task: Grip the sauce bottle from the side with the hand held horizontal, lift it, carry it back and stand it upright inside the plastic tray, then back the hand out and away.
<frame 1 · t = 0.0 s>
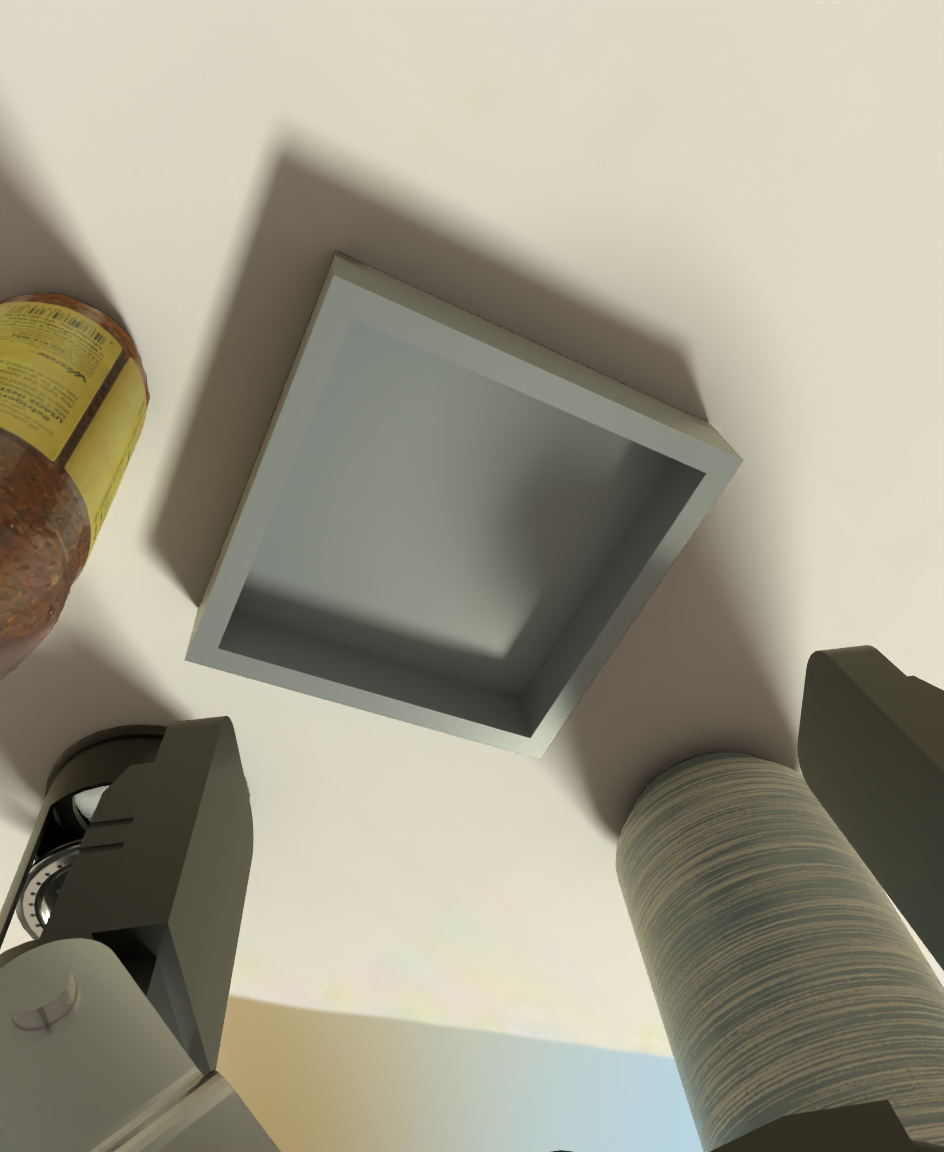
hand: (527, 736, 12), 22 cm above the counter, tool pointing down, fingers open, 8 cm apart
sauce bottle: (70, 376, 31), on the counter
vase: (704, 805, 47), on the counter
tray: (447, 518, 35), on the counter
french press: (147, 799, 42), on the counter
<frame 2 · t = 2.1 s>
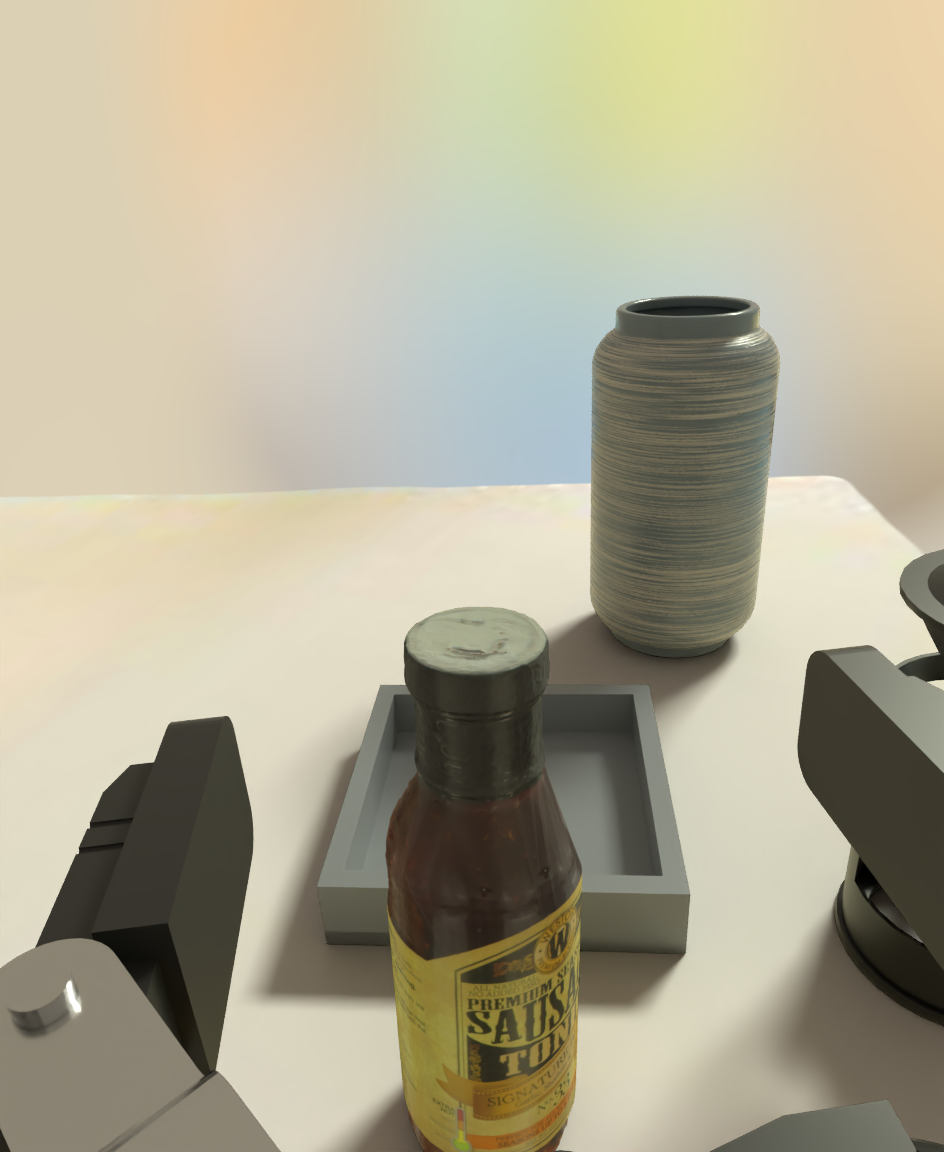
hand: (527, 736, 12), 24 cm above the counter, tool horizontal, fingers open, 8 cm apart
sauce bottle: (494, 1107, 32), on the counter
vase: (669, 630, 63), on the counter
tray: (509, 823, 45), on the counter
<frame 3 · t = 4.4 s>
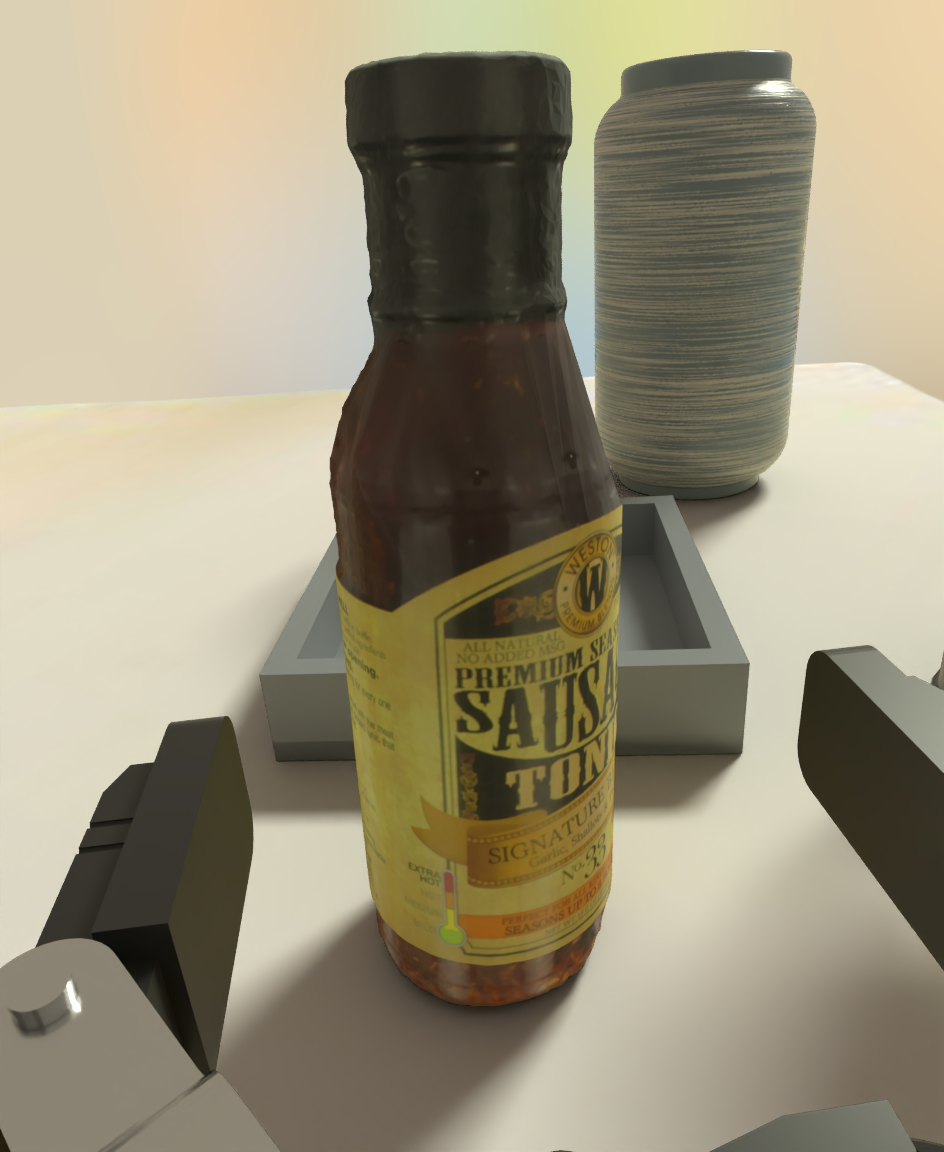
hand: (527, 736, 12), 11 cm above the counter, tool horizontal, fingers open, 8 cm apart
sauce bottle: (497, 922, 23), on the counter
vase: (686, 480, 55), on the counter
tray: (508, 642, 37), on the counter
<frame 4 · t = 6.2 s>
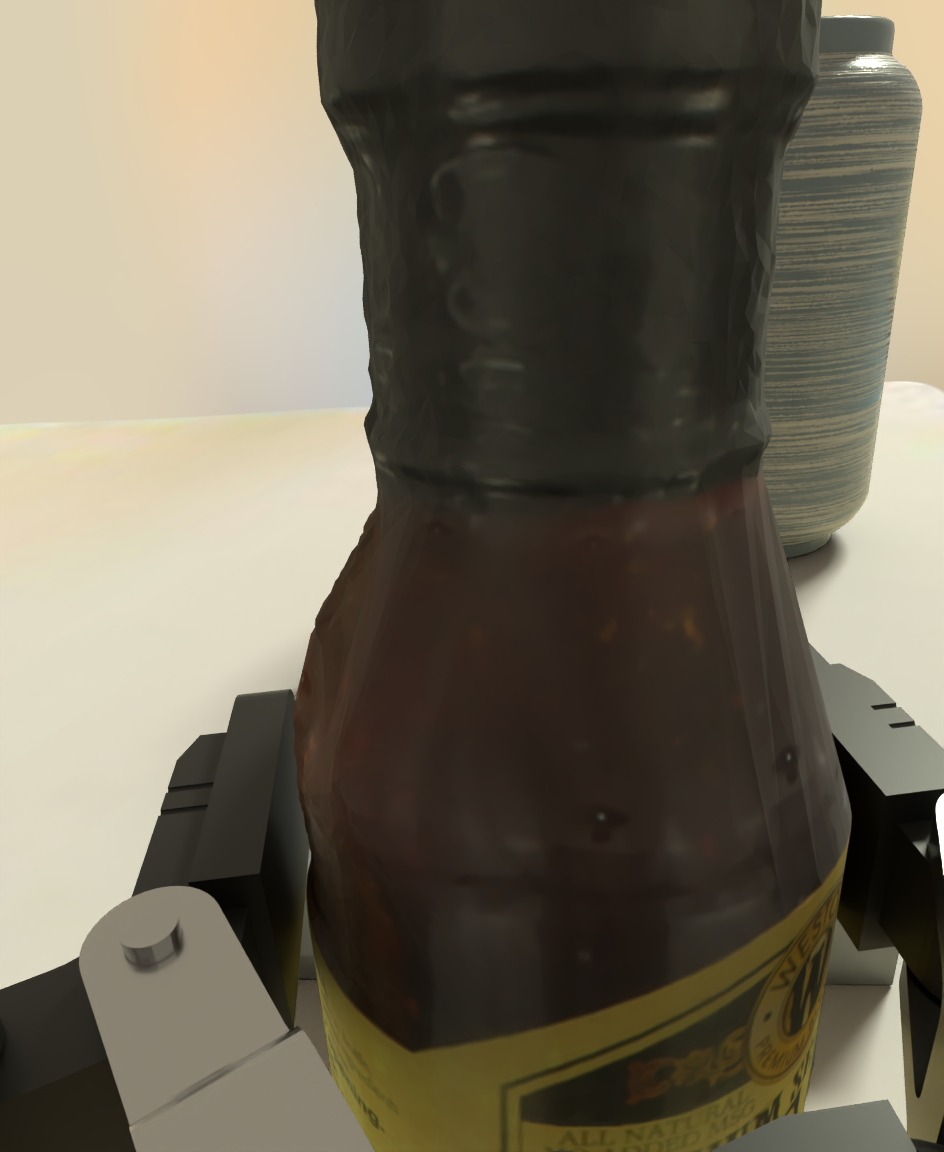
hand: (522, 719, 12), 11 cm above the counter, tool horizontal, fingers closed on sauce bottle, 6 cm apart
vase: (744, 532, 46), on the counter
tray: (549, 775, 28), on the counter
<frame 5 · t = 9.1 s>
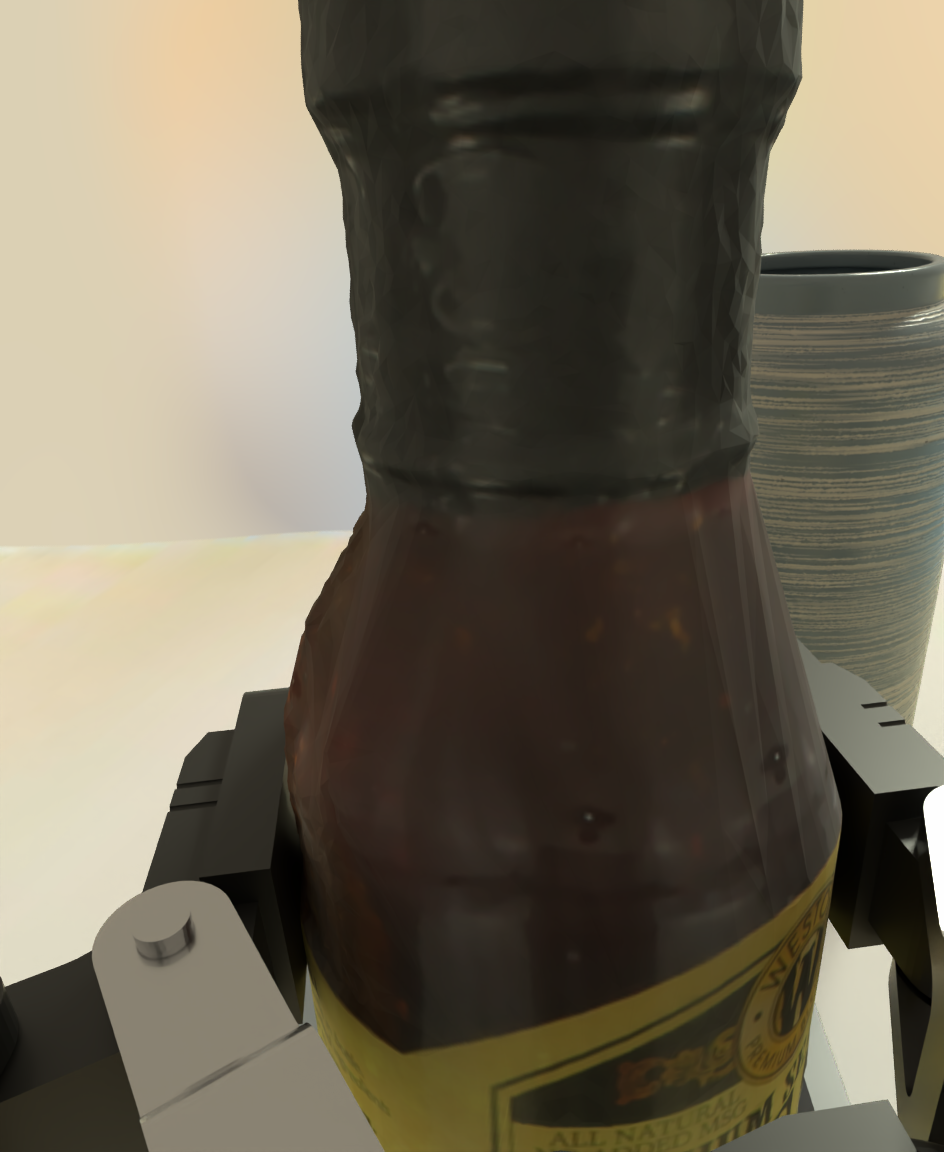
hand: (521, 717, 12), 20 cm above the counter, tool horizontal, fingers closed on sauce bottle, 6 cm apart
vase: (766, 765, 42), on the counter
when the fingers open (13 cm above the counter, at t = 11.8 s): sauce bottle drops 1 cm, resting on tray.
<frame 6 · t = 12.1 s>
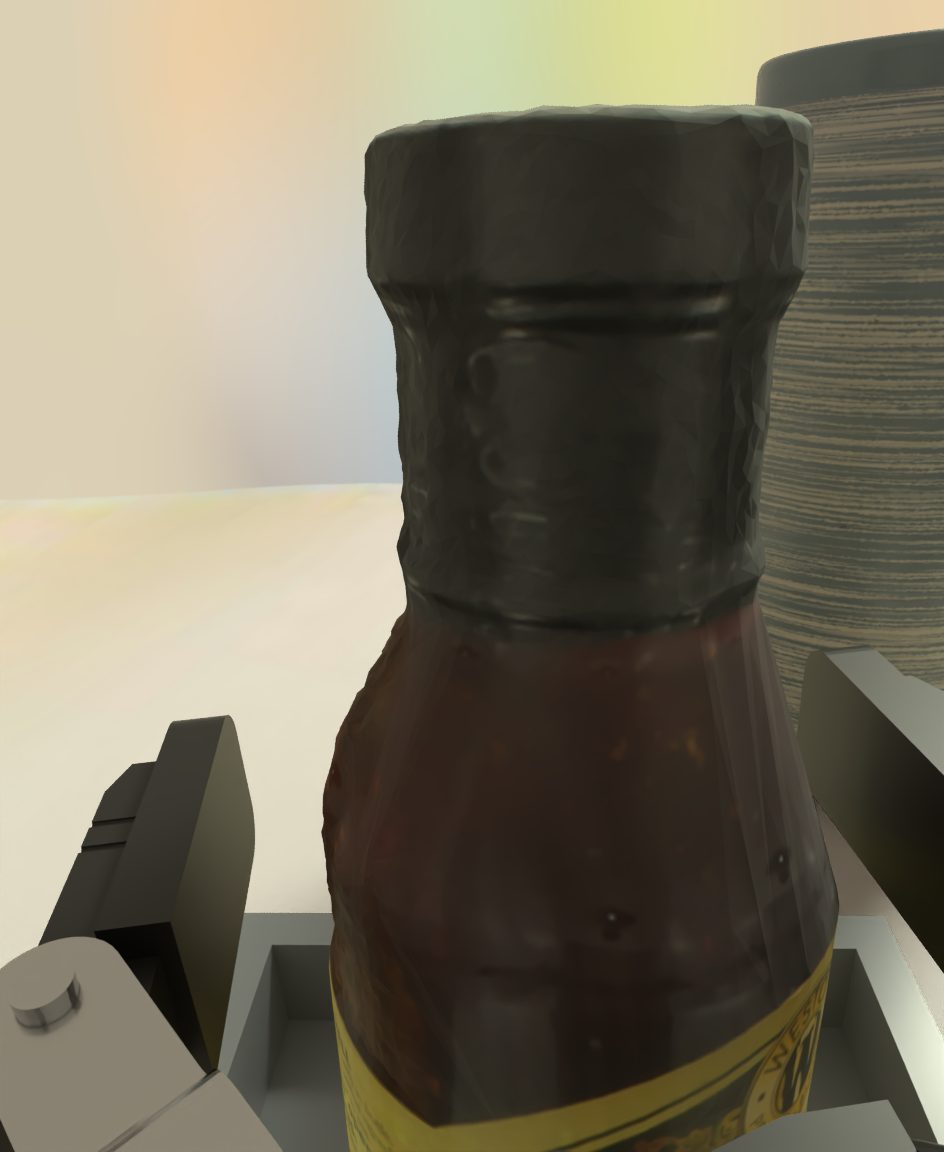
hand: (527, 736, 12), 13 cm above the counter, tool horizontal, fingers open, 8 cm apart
vase: (826, 728, 34), on the counter
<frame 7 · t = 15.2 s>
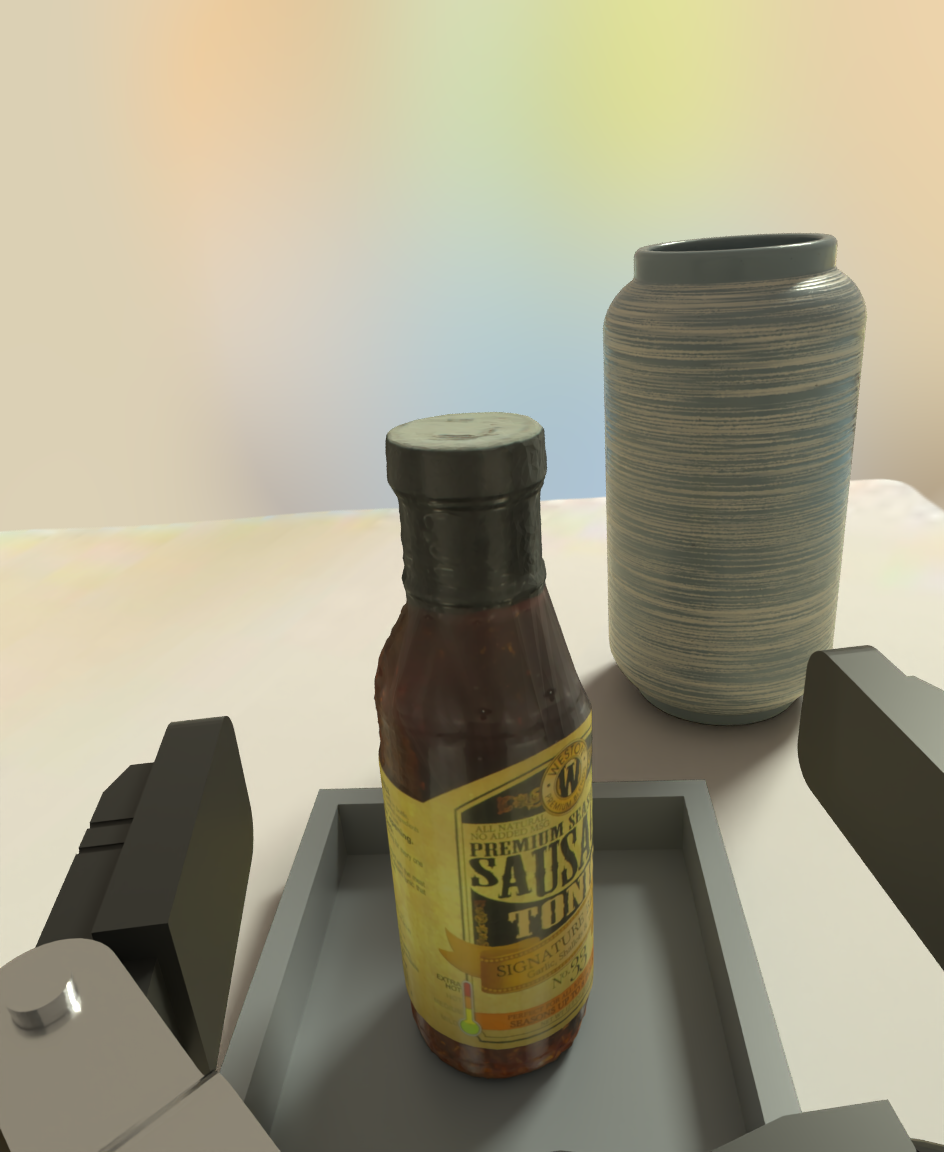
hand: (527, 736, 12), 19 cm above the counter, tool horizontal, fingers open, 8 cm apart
sauce bottle: (505, 1005, 29), point 1 cm above the counter, touching tray
vase: (715, 685, 48), on the counter
tray: (508, 1013, 30), on the counter
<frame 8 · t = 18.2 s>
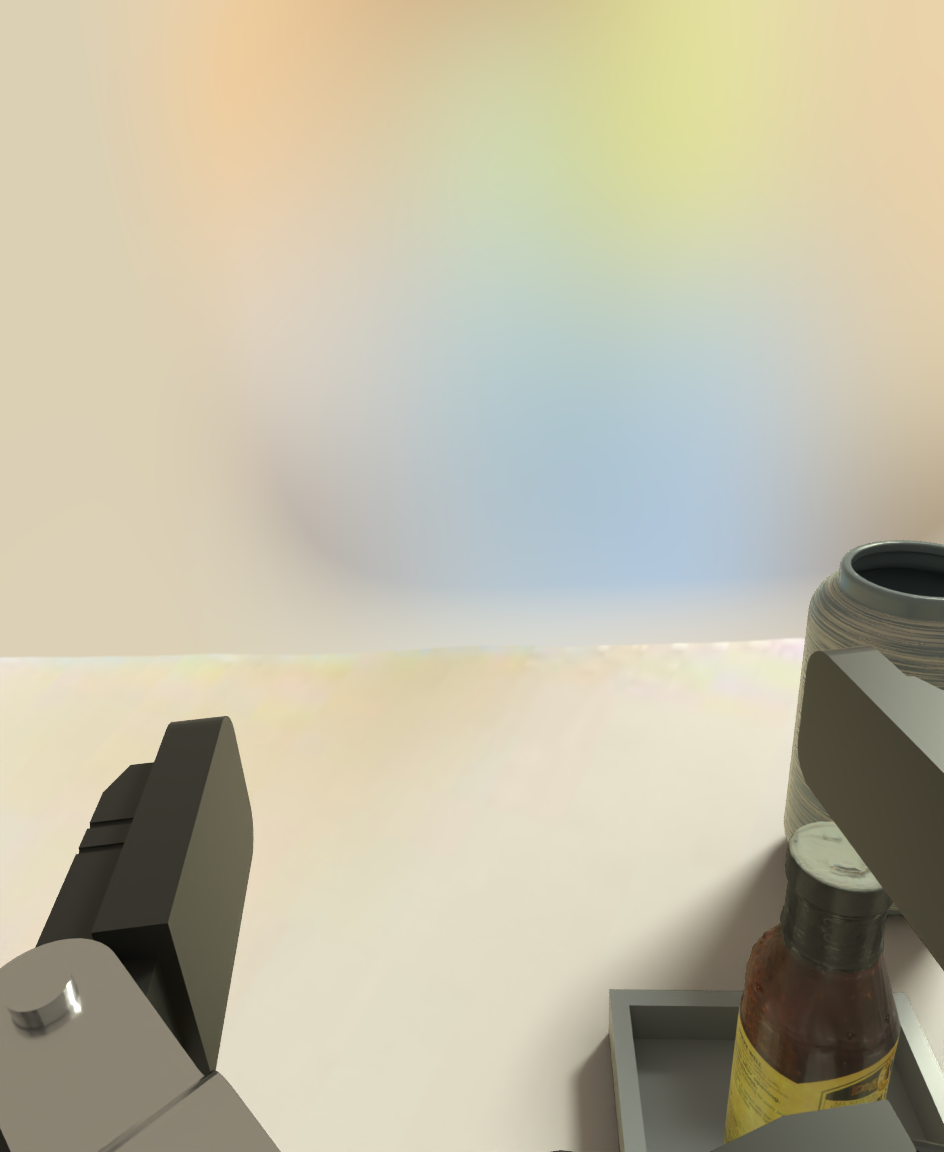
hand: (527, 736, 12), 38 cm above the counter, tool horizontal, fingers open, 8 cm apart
vase: (868, 869, 60), on the counter
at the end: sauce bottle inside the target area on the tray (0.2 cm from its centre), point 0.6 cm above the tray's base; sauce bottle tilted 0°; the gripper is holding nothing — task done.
